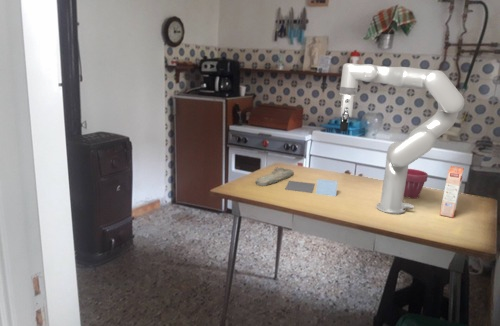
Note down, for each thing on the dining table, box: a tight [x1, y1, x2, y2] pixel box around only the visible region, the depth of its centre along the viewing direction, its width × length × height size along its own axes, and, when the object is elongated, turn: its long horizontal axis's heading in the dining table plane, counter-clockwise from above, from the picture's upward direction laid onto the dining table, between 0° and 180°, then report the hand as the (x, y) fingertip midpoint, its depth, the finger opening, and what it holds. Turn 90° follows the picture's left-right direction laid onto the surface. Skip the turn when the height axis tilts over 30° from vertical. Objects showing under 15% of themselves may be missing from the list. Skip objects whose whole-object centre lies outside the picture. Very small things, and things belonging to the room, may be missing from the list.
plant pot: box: [404, 168, 429, 199], centre depth 200 cm, size 14×14×13 cm
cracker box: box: [439, 165, 465, 219], centre depth 176 cm, size 14×6×21 cm, turn 148°
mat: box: [284, 180, 316, 193], centre depth 206 cm, size 14×16×1 cm
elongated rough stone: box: [254, 166, 294, 187], centre depth 218 cm, size 35×5×10 cm
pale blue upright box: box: [315, 178, 338, 197], centre depth 196 cm, size 10×4×7 cm, turn 76°
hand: (343, 129), depth 177 cm, fingers open, 9 cm apart
